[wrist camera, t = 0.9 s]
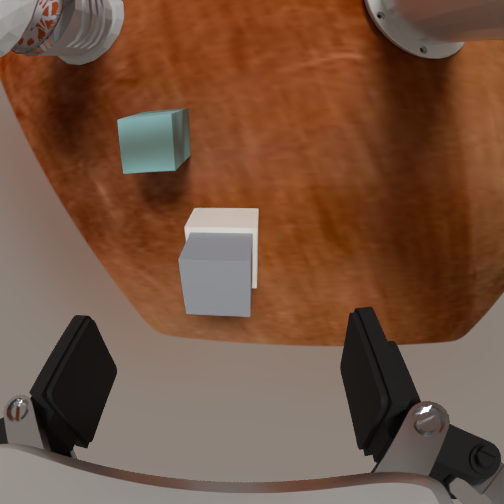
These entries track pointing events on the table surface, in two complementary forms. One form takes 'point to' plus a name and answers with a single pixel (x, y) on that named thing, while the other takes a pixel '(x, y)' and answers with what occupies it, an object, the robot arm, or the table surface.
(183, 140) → the teal pillar
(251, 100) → the table surface
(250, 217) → the block
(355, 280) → the table surface
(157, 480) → the robot arm
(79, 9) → the french press
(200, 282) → the tower top
